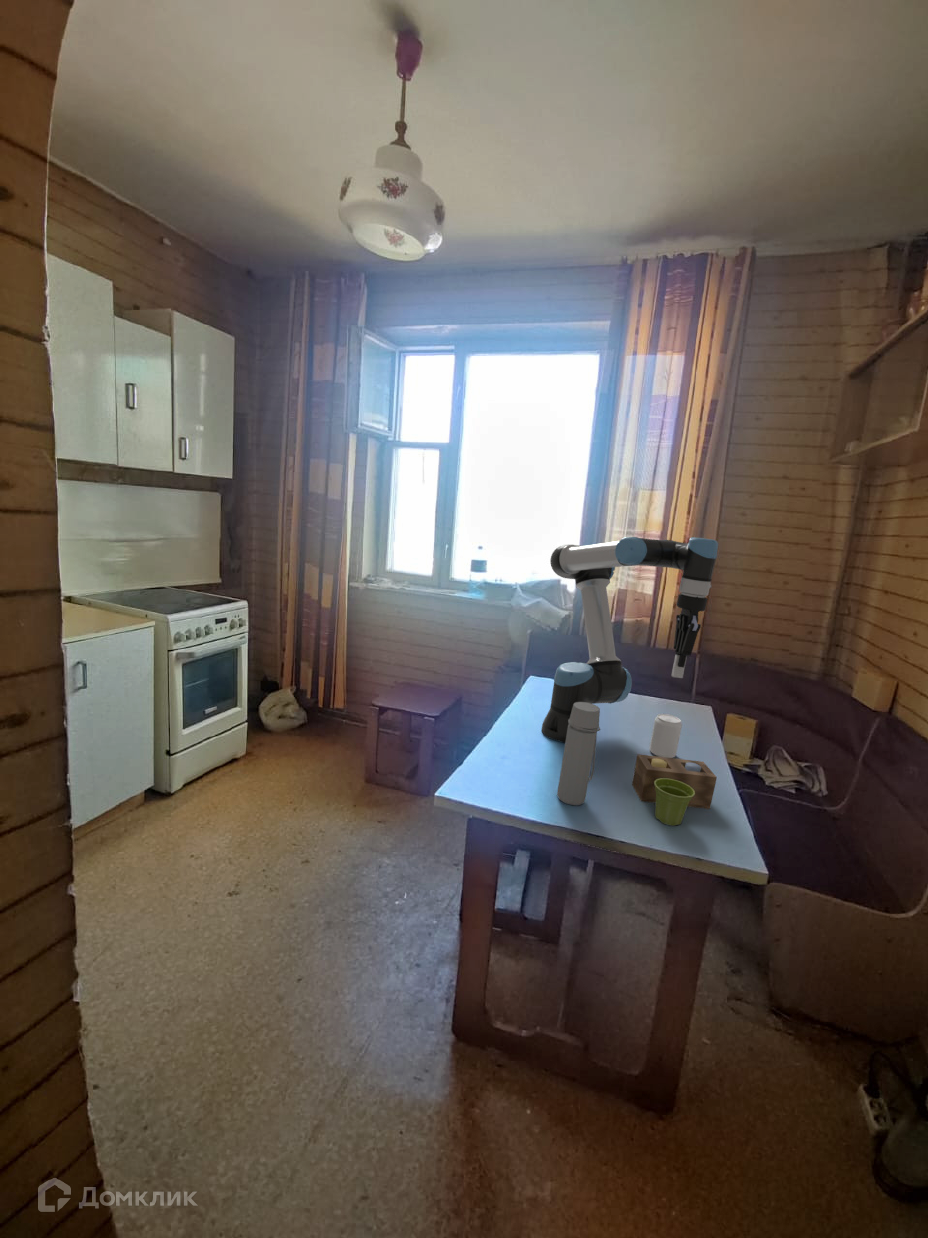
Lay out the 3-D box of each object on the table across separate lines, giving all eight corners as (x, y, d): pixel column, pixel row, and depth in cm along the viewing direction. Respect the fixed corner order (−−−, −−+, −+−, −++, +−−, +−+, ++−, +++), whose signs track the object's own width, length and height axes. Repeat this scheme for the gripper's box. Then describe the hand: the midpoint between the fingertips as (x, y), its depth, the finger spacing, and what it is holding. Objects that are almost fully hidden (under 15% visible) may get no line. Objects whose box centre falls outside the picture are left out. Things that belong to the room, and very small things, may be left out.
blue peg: (682, 796, 151) (688, 768, 150) (678, 789, 155) (683, 761, 153) (697, 797, 151) (703, 769, 150) (692, 790, 155) (697, 763, 153)
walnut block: (640, 801, 149) (647, 769, 147) (631, 784, 158) (637, 754, 156) (709, 809, 149) (716, 777, 147) (696, 792, 158) (703, 761, 156)
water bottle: (567, 809, 141) (582, 713, 136) (550, 793, 148) (564, 701, 143) (597, 805, 144) (614, 711, 139) (579, 789, 151) (595, 700, 146)
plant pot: (647, 805, 147) (653, 774, 145) (686, 815, 145) (693, 783, 143) (648, 824, 138) (654, 791, 136) (689, 834, 136) (696, 800, 134)
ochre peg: (648, 792, 151) (654, 764, 150) (644, 785, 155) (650, 757, 153) (663, 793, 151) (668, 765, 150) (658, 786, 155) (664, 759, 153)
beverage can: (676, 753, 183) (683, 717, 181) (674, 762, 176) (681, 725, 174) (650, 746, 187) (657, 711, 184) (647, 754, 179) (654, 718, 177)
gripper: (716, 600, 151) (698, 685, 156) (698, 592, 163) (682, 671, 168) (687, 597, 151) (670, 682, 156) (672, 589, 164) (657, 668, 168)
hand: (676, 676), depth 162 cm, fingers closed
